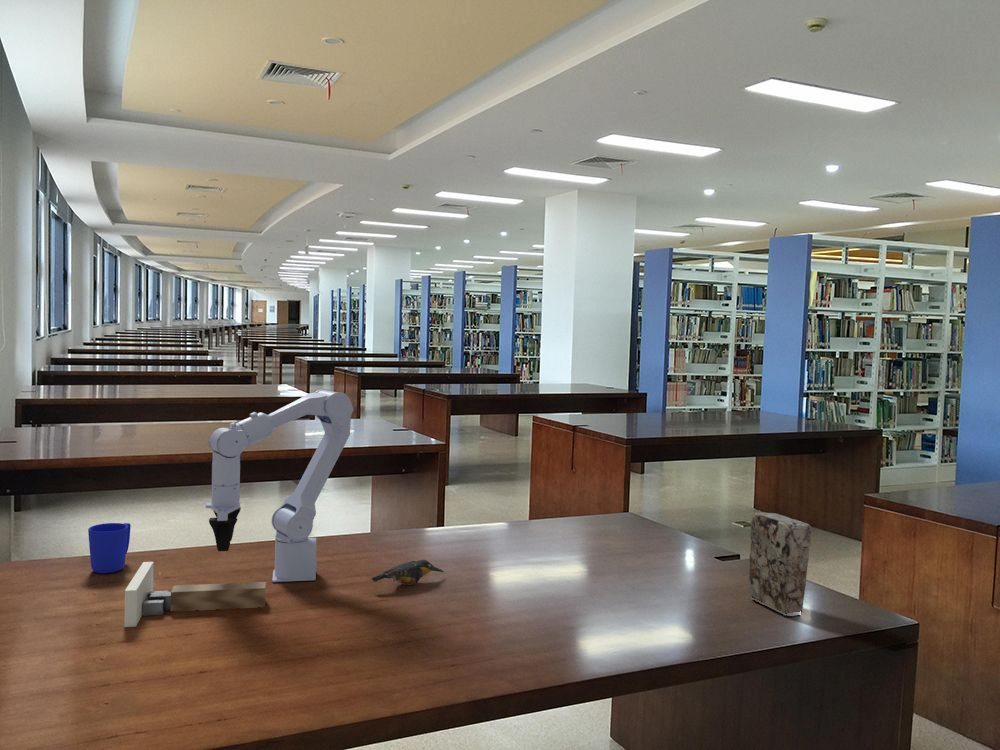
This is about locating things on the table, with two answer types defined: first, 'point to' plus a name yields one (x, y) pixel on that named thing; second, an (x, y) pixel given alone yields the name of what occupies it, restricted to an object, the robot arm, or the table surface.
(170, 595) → the walnut rail
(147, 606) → the post
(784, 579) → the stone block
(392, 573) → the bird model
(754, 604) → the table surface
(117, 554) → the mug
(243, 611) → the table surface
